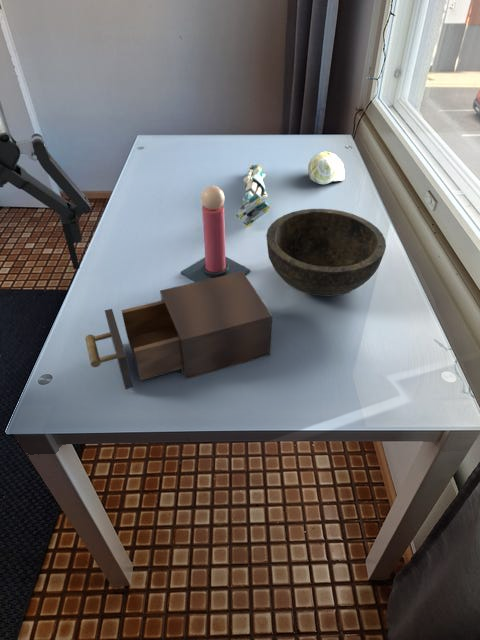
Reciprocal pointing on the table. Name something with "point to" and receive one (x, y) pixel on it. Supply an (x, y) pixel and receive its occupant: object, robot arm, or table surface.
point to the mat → (197, 275)
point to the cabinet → (219, 323)
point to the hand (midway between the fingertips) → (20, 274)
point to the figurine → (253, 196)
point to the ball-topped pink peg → (214, 232)
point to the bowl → (324, 250)
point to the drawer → (141, 342)
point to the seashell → (325, 168)
